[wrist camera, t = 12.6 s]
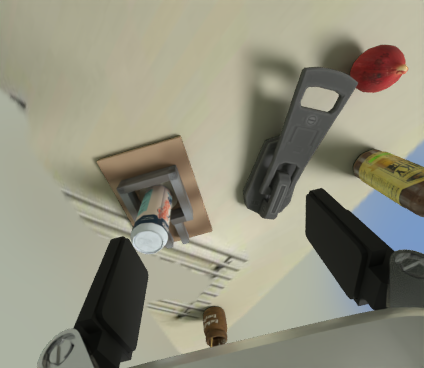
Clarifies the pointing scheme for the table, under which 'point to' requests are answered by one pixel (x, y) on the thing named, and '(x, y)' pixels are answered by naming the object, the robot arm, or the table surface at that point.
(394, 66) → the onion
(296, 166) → the zipper pull
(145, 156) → the keyhole board
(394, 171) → the sauce bottle
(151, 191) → the beer can
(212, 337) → the utensil holder
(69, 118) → the table surface
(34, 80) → the table surface
